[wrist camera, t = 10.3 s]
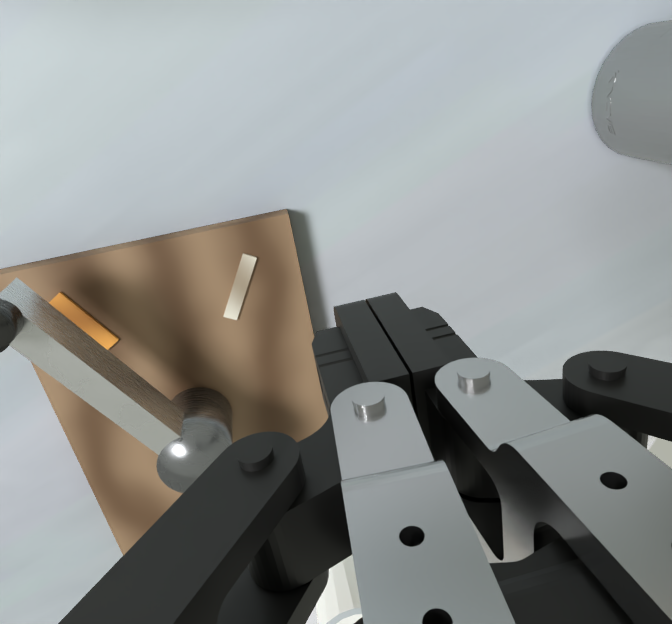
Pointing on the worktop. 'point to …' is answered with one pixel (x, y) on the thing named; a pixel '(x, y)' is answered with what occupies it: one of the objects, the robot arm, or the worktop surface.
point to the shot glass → (340, 596)
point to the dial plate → (184, 344)
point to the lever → (118, 388)
